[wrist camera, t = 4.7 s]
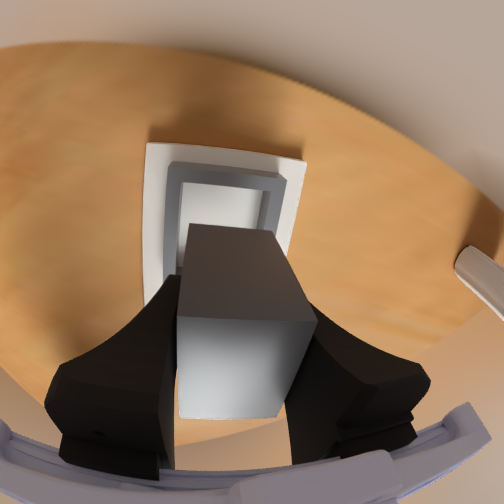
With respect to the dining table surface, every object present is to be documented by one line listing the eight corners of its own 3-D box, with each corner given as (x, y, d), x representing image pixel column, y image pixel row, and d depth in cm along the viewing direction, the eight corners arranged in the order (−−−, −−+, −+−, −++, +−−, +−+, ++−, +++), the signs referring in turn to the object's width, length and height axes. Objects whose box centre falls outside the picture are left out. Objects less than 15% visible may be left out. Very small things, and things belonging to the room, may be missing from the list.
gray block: (183, 315, 14) (179, 417, 9) (189, 222, 12) (176, 315, 6) (253, 318, 15) (276, 417, 9) (272, 230, 12) (318, 320, 7)
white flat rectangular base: (149, 334, 23) (144, 359, 20) (150, 141, 16) (139, 146, 13) (260, 340, 25) (266, 365, 22) (302, 159, 18) (318, 168, 15)
